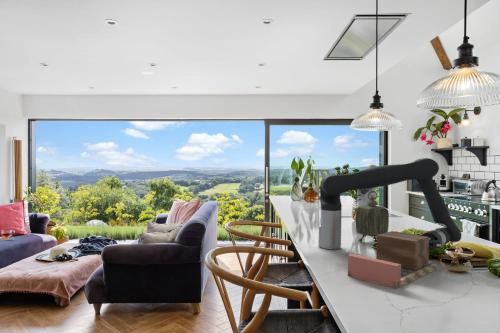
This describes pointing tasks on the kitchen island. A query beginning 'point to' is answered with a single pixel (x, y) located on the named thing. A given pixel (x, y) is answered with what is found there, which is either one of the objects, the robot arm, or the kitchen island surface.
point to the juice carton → (365, 196)
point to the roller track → (384, 271)
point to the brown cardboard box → (403, 249)
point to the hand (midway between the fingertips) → (415, 245)
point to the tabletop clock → (371, 219)
